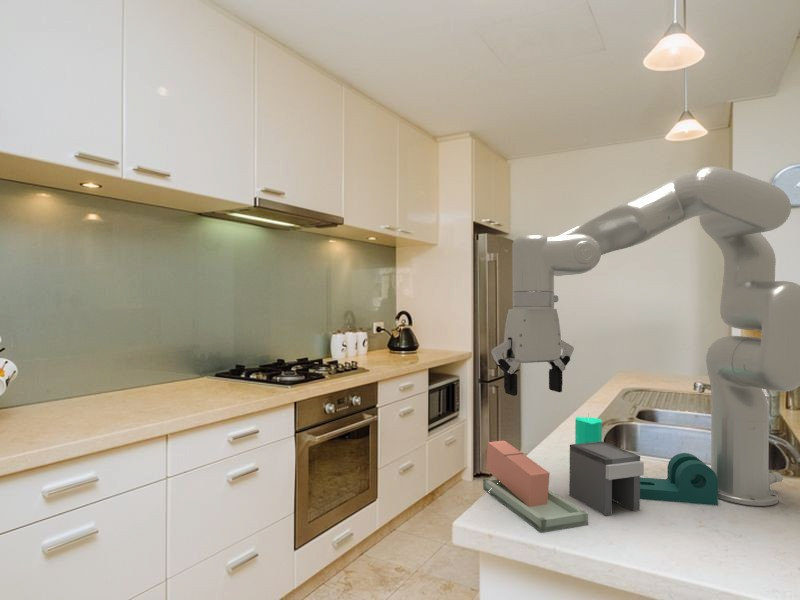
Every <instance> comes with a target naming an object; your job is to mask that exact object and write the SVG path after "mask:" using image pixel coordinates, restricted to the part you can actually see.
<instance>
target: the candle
mask: <svg viewBox="0 0 800 600" xmlns="http://www.w3.org/2000/svg"><path fill="white" fill-rule="evenodd" d="M602 422H603V421H602V419H601V418H598V417H597V418H596V417H590V412H588V413H587V417H583V416H582V417H581V416H575V428H574V429H575V431H574V432H575V433H574V434H575V437H574V438H575V440H574V442H575V443H574V444H581V443H591V442H601V441H602V438H603V437H602V436H603V435H602V434H603V431H602V429H603V428H602V427H603V423H602ZM602 442H603V441H602Z"/></svg>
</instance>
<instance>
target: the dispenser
mask: <svg viewBox="0 0 800 600" xmlns="http://www.w3.org/2000/svg"><path fill="white" fill-rule="evenodd" d="M643 476H644V461H641V455H639V454H636V453H634V452H632V451H631V452H630V451H628V450H625V449H623V448H621V447H617V446H614V445H612V444H610V443H607V442H604V441H601V442H591V443H581V444H575V443H574V444H573V443H572V444H569V481H568V482H569V491H568V492H569V496H571V497H572V498H573V499H576V500H577V501H579V502H581V503H582V504H584V505H586V506H587V507H589V508H591V509H592V510H594V511H596V512H598V513H600V514H601V515H603V516H605V517H607V516H612V515H613V513H612V512H613V509H612V508H613V502H615V503H617V504H619V505H621V506H623V507H625V508H627V509H629V510H630V511H633V512H637V511H640V510H641V499H640V477H643ZM612 501H613V502H612Z"/></svg>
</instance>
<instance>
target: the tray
mask: <svg viewBox="0 0 800 600" xmlns="http://www.w3.org/2000/svg"><path fill="white" fill-rule="evenodd" d="M482 480H483V481H482V484H483V485H482V489H483V490H484V491H485V492H486V493H487V494H489V495H491V496H492V497H493V498H494V499H496V500H497V501H499V502H500V503H501V504H502V505H504V506H505V507H506V508H508V509H509V510H510V511H512V512H513V513H514V514H516V515H518V517H520V518H521V519H523V520H524V521H525V522H526V523H528V524H529V525H530V526H532V527H533V528H534V529H536V530H537V531H538V532H539V533H542V534H543V533H547V532H552V531H558V530H565V529H570V528H577V527H582V526H588V525H589V512H588V511H585V510H584V509H582V508H580V507H578V506H577V505H575V504H574V503H572V502H570V501H569V500H567V499H565V498H564V497H562V496H560V495H558V494H557V493H556V492H554V491H552V490H550V489H548V501H547V504H544V505H538V506H531V507H528V506H527V505H526V504H525V503H524V502H523V501H522V500H520V499H519V498H518V497H517V496H516V495H515V494H514V493H512V492H511V491H510V490H509V489H508V488H507V487H506V486H505V485H503V484H502V483H501V482H499V480H498V479H497V478H495V477H493V478H483V479H482ZM497 483H498V484H497ZM491 488H492V489H491ZM490 489H491V490H490ZM489 490H490V491H489ZM488 491H489V492H490V493H489V492H488Z"/></svg>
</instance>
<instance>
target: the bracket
mask: <svg viewBox="0 0 800 600" xmlns="http://www.w3.org/2000/svg"><path fill="white" fill-rule="evenodd" d="M640 500H645V501H655V502H656V501H657V502H669V503H679V504H680V503H682V504H683V503H684V504H696V505H707V506H708V505H709V506H719V498H718V479H717V476H716V474H715V472H714V471H713V470H712V469H711V466H709V465H707V464H706V463H705V462H703V460H701V459H699V458H698V457H697V456H696V455H694V454H692V453H687V452H681V453H678V454H675V455H673V456H672V457H671V458H670V460H669V461H668V464H667V477H666V478H653V477H652V478H651V477H642V476H640Z"/></svg>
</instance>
